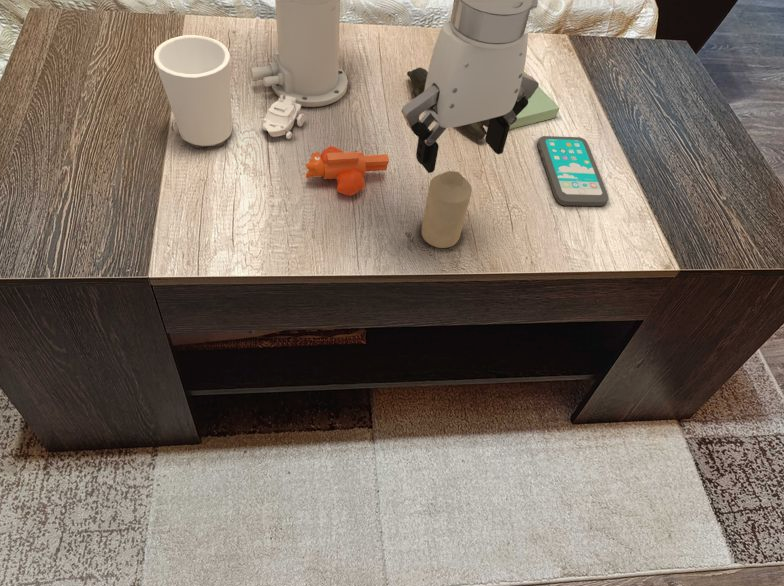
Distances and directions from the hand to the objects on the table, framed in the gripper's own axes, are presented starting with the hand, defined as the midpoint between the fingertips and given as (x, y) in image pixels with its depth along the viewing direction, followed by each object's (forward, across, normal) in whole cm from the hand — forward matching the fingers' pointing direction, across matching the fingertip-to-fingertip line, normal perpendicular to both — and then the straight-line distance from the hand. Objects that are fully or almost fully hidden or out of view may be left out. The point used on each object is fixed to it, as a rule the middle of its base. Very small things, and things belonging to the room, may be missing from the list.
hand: (460, 156), depth 75 cm
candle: (+14, 0, -1) cm, 14 cm away
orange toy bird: (+14, +8, -15) cm, 22 cm away
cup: (+13, +24, -32) cm, 42 cm away
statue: (+9, -12, -24) cm, 28 cm away
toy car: (+14, +12, -30) cm, 35 cm away
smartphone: (+14, -26, -5) cm, 30 cm away
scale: (+14, -26, -23) cm, 37 cm away
